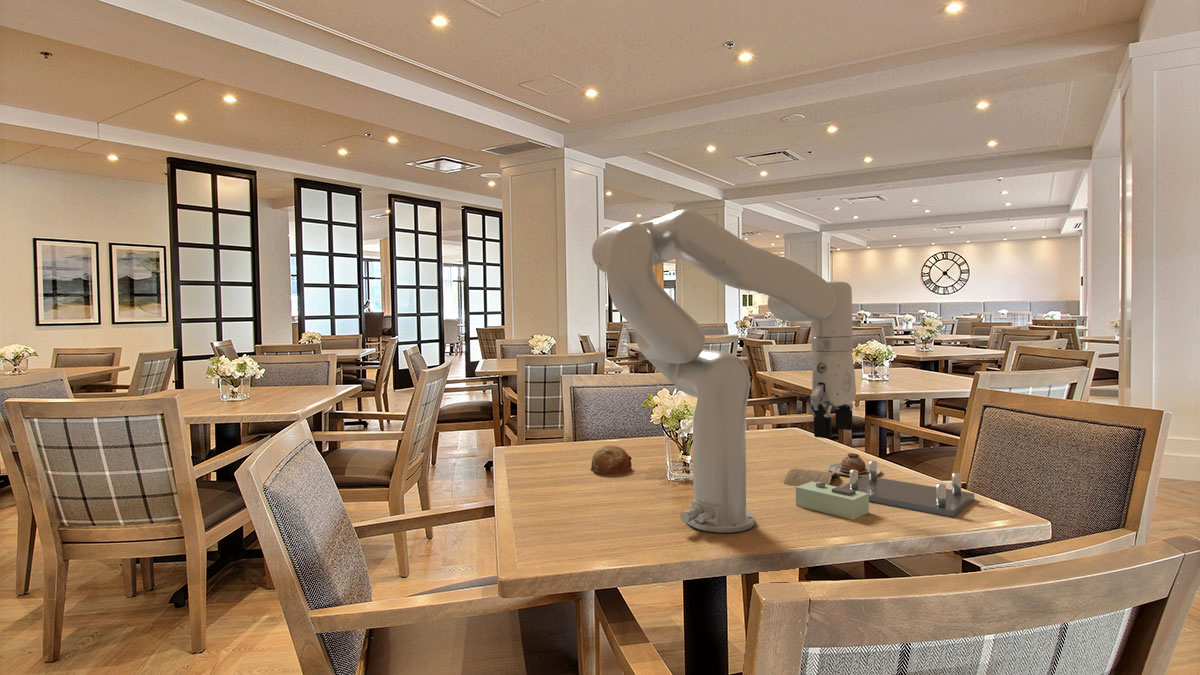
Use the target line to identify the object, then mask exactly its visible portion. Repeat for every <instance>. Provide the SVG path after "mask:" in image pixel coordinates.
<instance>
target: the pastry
mask: <svg viewBox="0 0 1200 675" xmlns="http://www.w3.org/2000/svg"><path fill="white" fill-rule="evenodd" d="M838 468H840V469H838ZM827 469H828V470H829V471H831V472H830V473H832V472H834V473H838V474H839V476H844V475H845V476H846V477H850V474H849V473H850V470H858V474H859V475H858V478H861V477H862V476H864V475H865V476H869V474H865V473H866V472H867V471H868V472H869V464H867V463H866V462H865V461H864V459H862V457H860V454H858V453H851V452H849V453H847V455H846V456H845V457H843V459H842V460H841V462H837V463H833V464H829V465H828V466H827ZM836 469H838V470H839V471H840V472H839V471H838V470H837V471H836ZM845 472H846V473H845ZM881 473H882V469H881V468H879V467H877V476H878V475H880V474H881ZM863 474H864V475H863Z"/></svg>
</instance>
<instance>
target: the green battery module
mask: <svg viewBox="0 0 1200 675" xmlns="http://www.w3.org/2000/svg"><path fill="white" fill-rule="evenodd" d="M842 487H843V486H835V485H830V484H829V485H826V484H825V482H821V481H817V482H809V483H806V484H803V485H800V486H795V506H797V507H801V508H804V509H808V510H812V511H817V512H820V513H821V512H822V513H823V514H824V513H826V514H829V515H834V516H837V517H842V518H845V519H850V520H853V521H854V520H856V519H858V518H860V517H862V516H864V515H867V514H868V513H869V512H870V501H869V493H864V492H860V491H856V490H852V489H847V488H842Z"/></svg>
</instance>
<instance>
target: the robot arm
mask: <svg viewBox="0 0 1200 675" xmlns="http://www.w3.org/2000/svg"><path fill="white" fill-rule="evenodd" d="M591 256H592V260H593V262H594V264H595V266H596V267H597V268H598V269H599V270H600V271H601V272H603V273H605V274H606V280H607V288H608V292H609V296H610V299H611V301H612V303H613V306H614V307H615V309H616V310H617V312H618V313H619V314H620V315H621V316H622V317H623V319H625V321H626V322H627V323H628V324H629V325H630V326H631V327H632V328H633V329H634V330H635V331H636V334H635V336H636V337H635V338H636V344H637V347H638V349H639V350H640V353H641V354H642V355H643V356H644V358H646V359H647V361H648V362H649V363H650V364H652V366H654V367H655V368H656V369H657V370H658V371H659V372H660V373H661V374H662V375H663V376H665V377H666V379H668V380H669V382H671V384H673V385H674V386H675V387H676V388H678V389H679V390H680V391H681V392H682V393H684V394H686V395H688V396H691V397H693V398H697V399H696V405H695V410H694V413H693V420H692V450H693V451H692V452H693V453H692V456H693V458H692V459H693V460H692V461H693V466H692V468H693V469H692V470H693V474H692V475H693V499H692V500H691V507H690V508H689V509H686V510H685V511H682V512H681V513H680V514H679V517H680V520H681V521H682V522H683V523H685V524H686V523H687V524H688V526H690V527H692V528H694V529H697V530H699V531H700V530H701V531H703V532H710V533H719V534H726V533H727V534H728V533H738V532H739V533H741V532H745V531H747V530H749V529H751V528H753V527H754V526H755V523H756V518H755V515H754V514H753V513H751V512H750V511H749V510H747V459H746V458H747V451H746V450H747V448H746V444H747V441H746V423H747V422H746V420H747V418H746V417H747V406H748V400H749V396H750V395H749V394H750V388H751V375H750V371H749V369H748V367H747V365H746V363H745V362H744V360H743V359H741V357H739V356H738V355H736V354H734V353H732V352H728V351H724V350H715V349H706V348H705V346H706V338H705V334H704V331H703V328H702V327H701V326H700V324H699V323H698V322H697V321H696V320H695V319H694V318H693V317H692V316H691V315H690V314H689V313H688V312H687V311H685V310H684V309H683V307H682V306H680V305H679V304H678V302H676V300H674V299H673V297H671V296H670V295H669V293H667V291H666V290H665V289H664V288H663V287H662V286H661V284H660V283H659V282H658V280H657V278H656V275H655V270H654V266H656V265H660V264H663V263H667V262H670V261H674V260H679V259H681V260H683V261H685V262H687V263H689V264H690V265H692V266H694V267H696V268H697V269H698V270H700V271H702V272H704V273H705V274H706V275H708V276H710V277H712V278H714V279H716V280H717V281H718V282H720V283H721V284H723V285H726V286H728V287H731V288H733V289H734V288H735V289H737V290H741V291H742V290H743V291H749V292H754V293H759V294H762V295H766V296H768V297H767V307H768V310H769V312H770V314H772V316H773V317H775V318H776V319H778V320H781V321H785V322H810V326H811V327H810V333H811V354H813V359H812V360H813V361H812V379H811V380H812V383H811V387H812V388H811V389H812V391H811V392H812V393H811V394H810V397H809V399H810V403H811V410H812V417H813V434H814V437H815V438H820V439H821V438H822V439H828V440H829V439H832V435H833V434H832V428H833V427H832V417H831V416H830V414H831V412H832V411H831V410H832V408H833V406H834V407H836V408H835V409H834V410H835V411H834V413H835V415H834V416H835V428H836V430H837V429H838V430H843V431H851V430H853V429H854V428H853V427H854V426H853V409H854V404H853V402H854V401H855V400H856V399H857V390H856V389H857V387H856V385H857V384H856V374H855V373H856V372H855V362H854V358H853V354H854V341H853V340H854V339H853V337H854V336H853V295H852V294H853V291H852V286H851V285H850V283H849V282H845V281H826V280H825V279H824V278H823V277H821V276H819V275H818V274H816V272H814V271H812V270H810V269H809V268H807V267H805V266H804V265H802V264H800V263H798V262H795V261H793V260H791V259H788V258H786V257H783V256H781V255H779V254H775V253H772V252H771V251H767V250H766V249H762V248H761V247H756V246H754V245H752V244H750V243H749V242H746V241H745V240H743V239H742V238H740V237H738V236H737V235H735V234H734V233H732V232H731V231H729V230H728V229H726V228H724V227H723V226H721V225H719V224H718V223H716V222H715V221H713V220H712V219H710V218H709V217H707V216H705V215H704V214H703V213H700V212H698V211H696V210H693V209H689V208H684V209H678V210H676V211H673V212H671V213H668V214H666V215H664V216H661V217H658V218H655V219H652V220H649V221H644V222H640V223H639V222H634V221H629V222H628V221H627V222H624V223H620V224H618V225H616V226H614V227H612V228H610V229H607V230H605V231H604V232H601V233H600V234H599V235H598V236H597V237H596V239H595V241H594V242H593V245H592V249H591Z"/></svg>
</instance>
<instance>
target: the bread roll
mask: <svg viewBox="0 0 1200 675" xmlns="http://www.w3.org/2000/svg"><path fill="white" fill-rule="evenodd" d="M631 469H632V457H631V456H630V454H628V452H627V451H626V450H624V449H623V448H621V447H619V446H618V445H610V444H609V445H608V444H607V445H604V446H602V447H601V446H600V448H598V449H597V450H596V451H595V452H594V454H593V455H592V460H591V467H590V470H591V471H592V470H593V471H592V472H594V471H595V472H594V473H596V474H598V473H600V474H599V475H605V474H614V475H620V473H621V474H625V473H628V472H630V470H631Z"/></svg>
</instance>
